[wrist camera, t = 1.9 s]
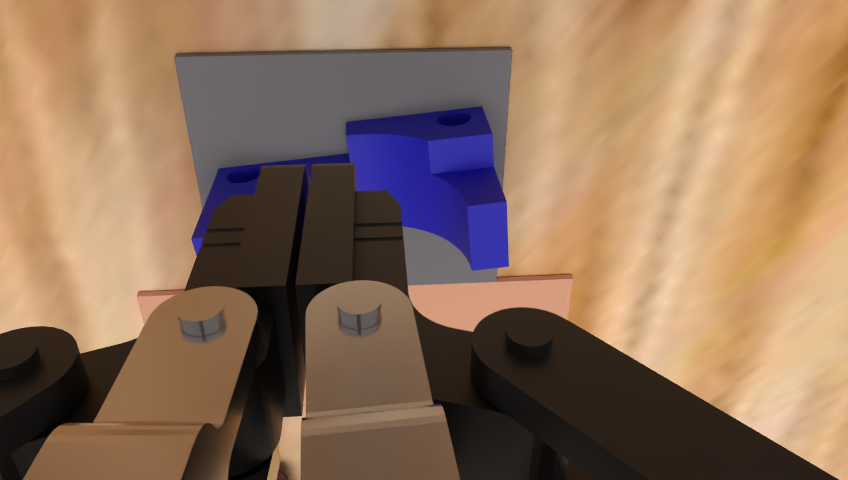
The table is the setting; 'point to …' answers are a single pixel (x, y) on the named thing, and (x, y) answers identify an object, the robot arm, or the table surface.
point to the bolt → (281, 476)
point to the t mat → (326, 135)
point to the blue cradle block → (412, 178)
